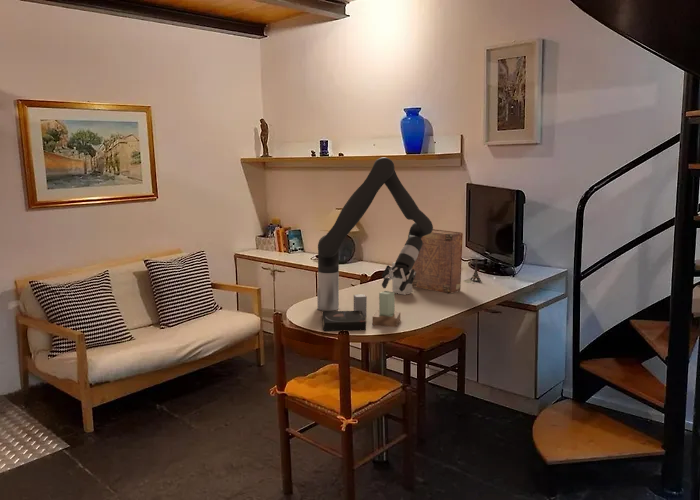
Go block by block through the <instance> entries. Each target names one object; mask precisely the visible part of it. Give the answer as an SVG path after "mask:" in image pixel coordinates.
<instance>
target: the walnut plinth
mask: <svg viewBox="0 0 700 500" xmlns="http://www.w3.org/2000/svg"><path fill="white" fill-rule="evenodd" d="M371 321H372V326H381V327H393V328H396V327H398V325H399V323H400V322H401V311H395V313H394V314H391V315H383V314H379V309H377V310H376V312H374V313H373V315H372V320H371ZM399 321H400V322H399Z"/></svg>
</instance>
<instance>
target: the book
mask: <svg viewBox="0 0 700 500" xmlns="http://www.w3.org/2000/svg"><path fill="white" fill-rule="evenodd" d="M463 235H464V233H463V232H460V231H459V232H458V231H451V230H444V229H443V230H442V229H434V228H433V231H432V232H431V233H430V234H428V235H425V236H423V237H422V238H421V240H422V241H423V245H422V247H421V249H420V251H419V254H418V257H417V259H416V261H415V263H414V265H413V267H412V269H414V270H415V272H416V275H415V278H414V280H413V283H412V288H418V289H419V288H420V289H424V290H429V291H434V292H435V291H436V292H440V293H445V294H453V293H456V292H459V291H461V286H462V285H461V282H462V262H463V261H462V257H463V237H464V236H463Z"/></svg>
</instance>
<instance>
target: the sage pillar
mask: <svg viewBox="0 0 700 500" xmlns="http://www.w3.org/2000/svg"><path fill="white" fill-rule="evenodd" d="M378 296H379V297H378V300H379V302H378V305H379V309H378V310H379V314H383V315H391V314H394V313H395V312H396V311H395V293H394V292H393V291H389V290H384V291H380V292H379V293H378Z"/></svg>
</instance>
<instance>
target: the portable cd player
mask: <svg viewBox="0 0 700 500" xmlns="http://www.w3.org/2000/svg"><path fill="white" fill-rule="evenodd" d="M321 323H322V330H323V331H324V332H342V331H341V330H347V331H346V332H351V331H353V332H354V331H366V330H367V321H366V317H364V315H363V313H362V311H354V310H334V311H323V310H322V314H321Z"/></svg>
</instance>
